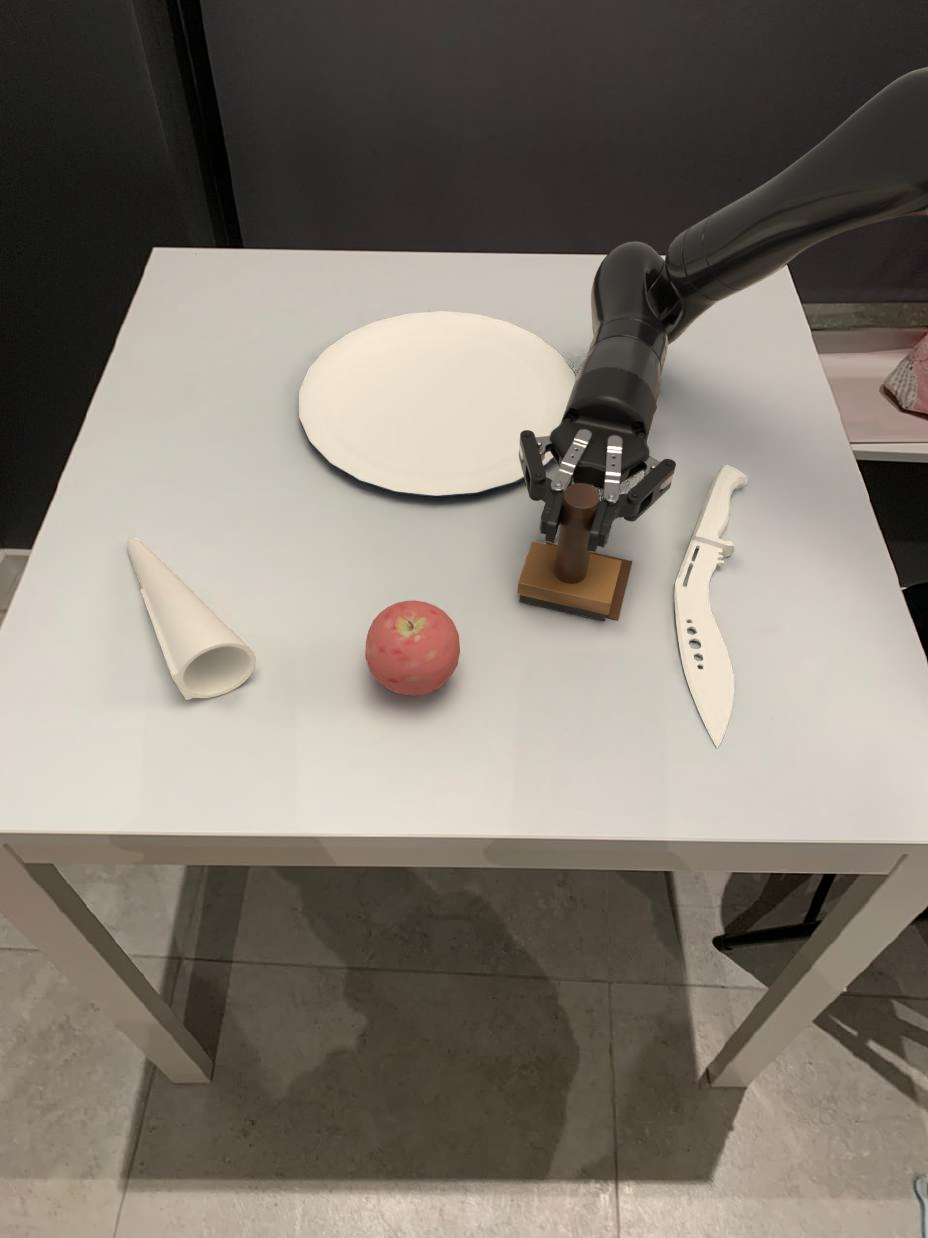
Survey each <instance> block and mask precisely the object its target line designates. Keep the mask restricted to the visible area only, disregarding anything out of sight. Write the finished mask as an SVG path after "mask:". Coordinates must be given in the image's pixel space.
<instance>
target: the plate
mask: <svg viewBox="0 0 928 1238" xmlns="http://www.w3.org/2000/svg"><path fill="white" fill-rule="evenodd" d="M576 377H577V376H576V374H575V372H574V371H573V370H572V368H571V367H570V366H569V364H568V362H567V361H566V360H565V358H564V357H563V356H562V355H561V354H560V352H559V351H557V350H556V349H555V348H554V347H552V346H551V345H549V344H548V343H547V342H546V341H544V340H543V339H542V338H541V337H540V336H538V335H537V334H534V333H532V332H530V331H528V330H527V329H524V328H522V327H520V326H518V325H515V324H513V323H511V322H509V321H505V320H501V319H498V318H494V317H490V316H485V315H483V314H478V313H469V312H461V311H460V312H458V311H448V310H438V311H437V310H436V311H423V312H422V311H421V312H409V313H408V312H407V313H405V314H400V315H396V316H392V317H386V318H382V319H378V320H376V321H373V322H371V323H369V324H366V325H364V326H361V327H359V328H357V329H354V330H351V331H349V332H347V333H346V334H345V335H343V336H342V337H340V338H339V339H338V340H337V341H335V342H333V343H332V344H331V345H329V346H328V347H327V348H325V349H324V350H323V351H322V352H321V354H319V356H318V357H317V358H316V359H315V360H314V362H313V363H312V364H311V365H310V367H308V369H307V371H306V373H305V376H304V378H303V381H302V383H301V386H300V388H299V391H298V416H299V417H298V419H299V421H300V422H301V425H302V427H303V430H304V432H305V434H306V436H307V439H308V441H309V443H310V444H311V445H312V446H313V447H314V448H315V450H316V451H317V452H318V453H320V455H321V456H322V458H324V459H325V460H326V461H327V462H328V463H329V464H330V465H332V466H333V467H335V468H337V469H338V470H340V471H342V472H343V473H345V474H346V475H348V476H350V477H352V478H353V479H355V480H357V481H358V482H361V483H364V484H366V485H367V484H368V485H370V486H374V487H376V488H379V489H383V490H385V491H389V492H393V493H396V494H405V495H413V496H422V497H423V496H424V497H433V498H441V497H451V496H452V497H454V496H465V495H466V496H467V495H477V494H481V493H484V492H488V491H492V490H494V489H498V488H499V489H500V488H501V487H506V486H509V485H512V484H515V483H517V482H518V481H520V480H522V479H524V475H523V471H522V467H521V464H520V460H519V444H520V433H521V432H522V431H524V430H530V431H532V432H533V433H534V435H535V437H543V436H550V434H551V432H552V431H553V430H554V429H555V428H557V427H558V426H559V425H560V423H561V421H562V418H563V415H564V412H565V409H566V406H567V403H568V401H569V398H570V395H571V392H572V389H573V386H574V383H575V380H576ZM553 459H554V457H553V456H552V454H551V452H550V451H549V452H547V453H546V454H545V459H544V460H543V461H542V463H543V466H544V467H546V466H547V465H548V464H549V463H550V462H551V461H552V460H553Z"/></svg>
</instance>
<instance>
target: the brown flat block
mask: <svg viewBox="0 0 928 1238" xmlns="http://www.w3.org/2000/svg"><path fill="white" fill-rule="evenodd" d="M545 544H548V545H553V546H557V543H551V542H546V541H545ZM590 554H594V555H599V556H603V557H608V558H612V559H617V560H621V566H620V571H619V575H618V579H617V583H616V587H615V591H614V595H613V599H612V603H611V607H610V611H609V615H606V619H610V620H615V621H619V619H620V615H621V610H622V607H623V603H624V597H625V594H626V589H627V586H628V581H629V577H630V573H631V569H632V565H633V560H630V559H625V558H621V557H616V556H612V555H607V554H603V553H598V552H591V551H590Z"/></svg>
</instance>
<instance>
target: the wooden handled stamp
mask: <svg viewBox="0 0 928 1238" xmlns="http://www.w3.org/2000/svg"><path fill="white" fill-rule="evenodd" d="M600 500H601V495H600V493H599V491H598V488H596V487H594V486H592V485H589V484H585V483H575V484H572V485H570V486H568V487H567V488H566V490H565V491H564V496H563V505H562V513H561V520H560V525H559V528H558V535H557V536H558V538H557V543H556V544H557V546H553V545H548V544H546V543H543V542H538V541H534V540H532V541H530V545H529V548H528V551H527V554H526V558H525V559H524V560H525V561H524V563H523V567H522V569H521V573H520V575H519V578H518V581H517V589H516V591H517V593H516V594H517V595H519V599H518V600H519V602H520V603H524V604H529V605H533V606H536V607H541V608H545V609H550V610H555V611H559V612H563V613H568V614H572V615H576V616H580V617H584V618H589V619H594V620H598V621H602V622H604V621H606V619H607V618H606V615H609V611H610V607H611V603H612V599H613V595H614V591H615V587H616V583H617V579H618V575H619V571H620V566H621V560H617V559H612V558H608V557H603V556H599V555H594V554H590V552H591V551H587V547H588V541H589V536H590V531H591V528H592V524H593V521H594V517H595V514H596V510H597V509H598V505H599V501H600Z"/></svg>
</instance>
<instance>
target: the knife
mask: <svg viewBox="0 0 928 1238" xmlns="http://www.w3.org/2000/svg"><path fill="white" fill-rule="evenodd" d="M748 484H749V479H748V476H747V475H746V474H744V472H742V471H740V470H738V469H737V468H735V467H733V466H731V465H729V464H724V465H723V466H722V467H720V469H719V470H718V472H717V473H716V475H715V477H714V479H713V481H712V483H711V486H710V489H709V491H708V494H707V497H706V500H705V502H704V505H703V507H702V510H701V512H700V515H699V518H698V520H697V523H696V526H695V528H694V531H693V534H692V536H691V538H690V543H689V546H688V547H687V551H686V553H685V556H684V558H683V561H682V564H681V567H680V569H679V571H678V574H677V577H676V580H675V582H674V586H673V590H674V593H673V600H674V612H675V625H676V633H677V639H678V640H677V641H678V646H679V655H680V658H681V662H682V663H681V665H682V668H683V671H684V675H685V678H686V679H685V680H686V682H687V685H688V687H689V690H690V693H691V696H692V699H693V701H694V704H695V706H696V708H697V711H698V713H699V715H700V718H701V720H702V722H703V724H704V727H705V728H706V731H707V732H708V735H709V736H710V738H711V740H712V742H713V744H714V746H715V747H716V749H719V746H720V744H721V743H722V741H723V738H724V736H725V735H726V731H727V728H728V725H729V722H730V720H731V716H732V710H733V705H734V700H735V689H736V687H735V686H736V685H735V675H734V671H733V666H732V662H731V658H730V655H729V652H728V648H727V646H726V643H725V641H724V639H723V636H722V632H721V631H720V628H719V626H718V624H717V622H716V619H715V617H714V613H713V610H712V606H711V604H710V593H709V590H710V583H711V579H712V576H713V573H714V572H715V570H716V569H717V566H720V567H721V566H722V567H723V566H724V565H725V560H724V558H728V557H731V556H732V555H733V554H734V552H735V545H734V542H733V541H731V540H730V541H729V540H725V539H723V538H720V537H721V535H722V534H723V533H724V531H725V530H726V528H727V526H728V524H729V520H730V515H731V497H732V494H733V492H734V491H735V489H739V488H742V487H743V488H744V487H745V486H747V485H748ZM696 549H698V550H697V554H696V557H695V560H694V561H693V560H692V558H693V557H694V554H695V550H696ZM690 566H691V567H692V568H691V570H690V573H689V576H688V580H687V583H686V586H684V582H685V579H686V576H687V573H688V570H689V568H690ZM690 629H691V630H694V632H695V633H694V634H691V633H689V632H688V630H690ZM692 641H693V642H697V643H698V644H699V645H700V647H699V648H697V649H696V648H692V647H691V645H690V642H692ZM695 656H699V657H700V658H701V660H700V661H699V660H697V659H696V658H695ZM699 667H701V669H700V668H699Z"/></svg>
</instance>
